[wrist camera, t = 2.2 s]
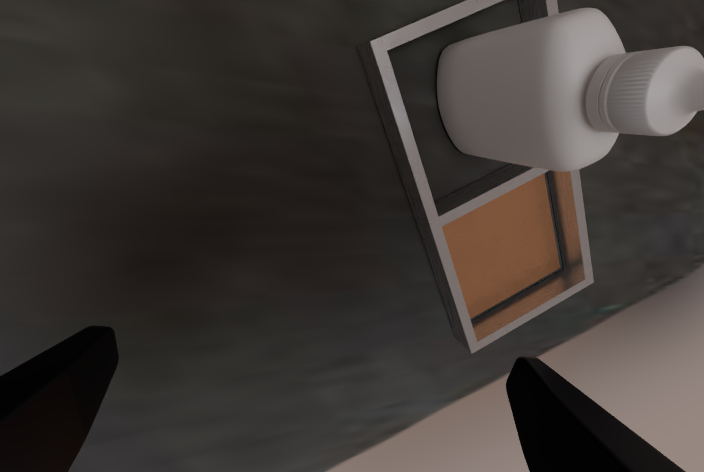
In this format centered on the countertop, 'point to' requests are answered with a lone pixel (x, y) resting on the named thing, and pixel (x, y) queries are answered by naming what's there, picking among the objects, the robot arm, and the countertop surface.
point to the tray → (486, 211)
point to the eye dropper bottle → (562, 91)
